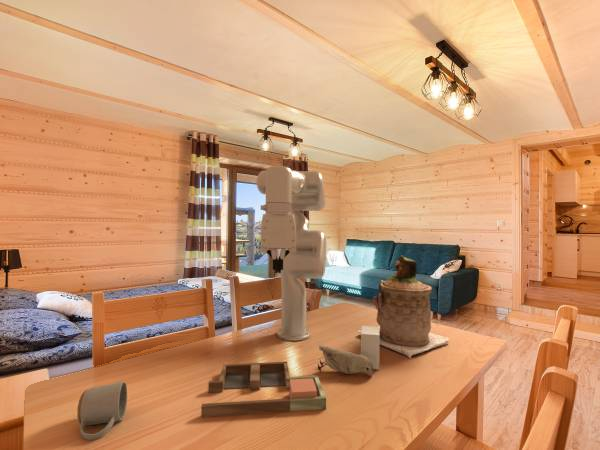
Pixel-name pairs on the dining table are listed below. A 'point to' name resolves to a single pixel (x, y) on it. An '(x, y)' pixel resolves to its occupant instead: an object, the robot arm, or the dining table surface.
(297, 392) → the block
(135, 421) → the dining table surface
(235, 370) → the trap run
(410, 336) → the cookie jar
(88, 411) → the ceramic mug
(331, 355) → the decorative bird
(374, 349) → the small box
